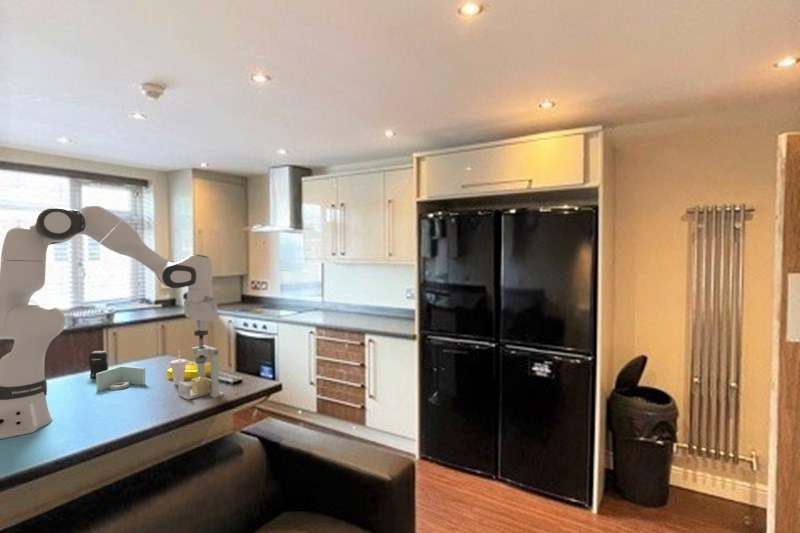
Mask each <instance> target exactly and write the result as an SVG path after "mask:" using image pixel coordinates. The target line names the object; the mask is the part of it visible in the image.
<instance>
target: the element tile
mask: <svg viewBox="0 0 800 533" xmlns="http://www.w3.org/2000/svg"><path fill="white" fill-rule="evenodd" d="M166 371H167V372H166V374H167V376H166V378H167V380H170V381H172V380H173V375H172V368H168V369H167V370H166ZM210 372H211V361H210V362H209V361H208V362H206V363H205V377H207V376H208V375H210V374H211V373H210ZM209 373H210V374H209ZM207 374H208V375H207ZM206 375H207V376H206ZM197 377H198V368H197V363H195V361H187V363H186V368H185V377H184V381H185V380H186V381H191V379H193V378H197Z"/></svg>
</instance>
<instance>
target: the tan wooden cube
mask: <svg viewBox="0 0 800 533" xmlns="http://www.w3.org/2000/svg"><path fill="white" fill-rule="evenodd" d="M210 379H211V377H207V376H202V377H197V378H193V379H191V380H190V381H191V384H190V389H191V390H192V391H194V392H197V393H199V392H203V391H207V390H210Z"/></svg>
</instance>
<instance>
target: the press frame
mask: <svg viewBox="0 0 800 533" xmlns="http://www.w3.org/2000/svg"><path fill="white" fill-rule="evenodd" d="M190 354H194V355H195V354H196V357H197V356H201V355H204V356H207V355H210V362H211V373H210V379H211V394H209V396H210V397H211V396H212V397H211V398H213V397H214V399H215V398H218V396H219V397H223V396H224V395H225V393H224V392H222V391H219V387H220V386H219V380H220V379H219V348H216V347H213V346H210V345H209V346H208V345H206V344H204V349H199V344H197V345H196V346H194V347H190ZM197 368H198V377H202V376H205V363H201V364H198V363H197ZM205 377H206V376H205Z"/></svg>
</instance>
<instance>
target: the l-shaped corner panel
mask: <svg viewBox="0 0 800 533" xmlns="http://www.w3.org/2000/svg"><path fill="white" fill-rule="evenodd" d="M95 379H96V380H95V381H96V391H97V392H100V391H103V390H106V389H107V388H109V390H111V391H119V390H125V389H127V387H130V384H131V385H139V384H142V386H144V384H145V385H146V367H137V366H127V365H119V366H116V367H114V368H110V369H108V370H106V371H103V372H100V373H96V378H95ZM129 383H130V384H129Z"/></svg>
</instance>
